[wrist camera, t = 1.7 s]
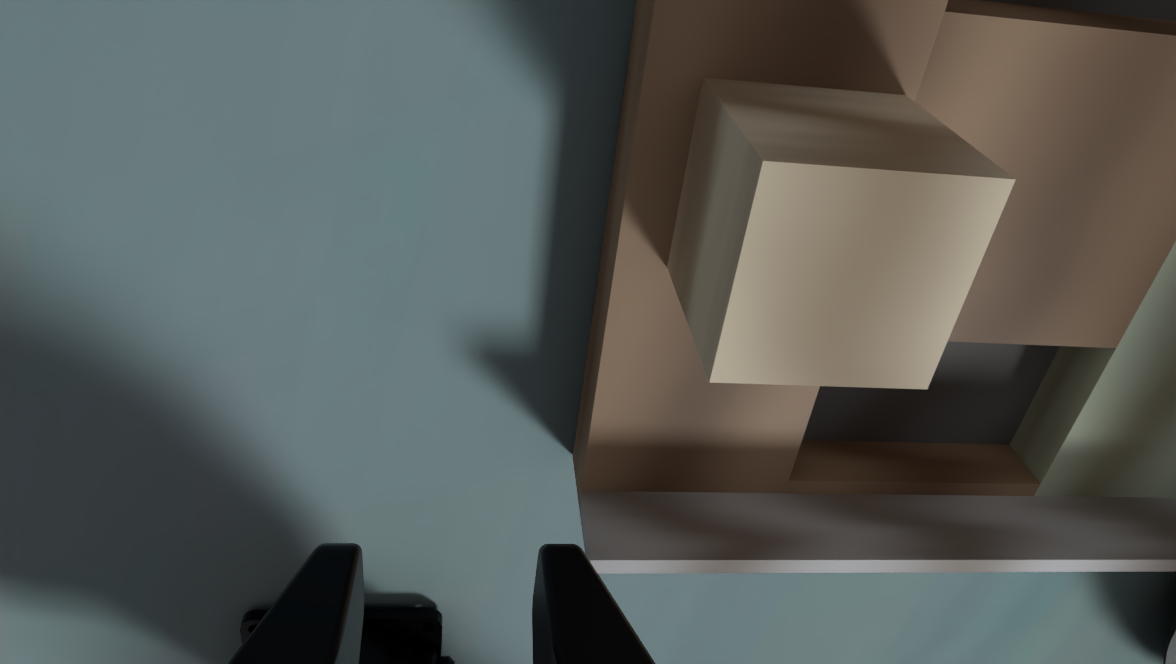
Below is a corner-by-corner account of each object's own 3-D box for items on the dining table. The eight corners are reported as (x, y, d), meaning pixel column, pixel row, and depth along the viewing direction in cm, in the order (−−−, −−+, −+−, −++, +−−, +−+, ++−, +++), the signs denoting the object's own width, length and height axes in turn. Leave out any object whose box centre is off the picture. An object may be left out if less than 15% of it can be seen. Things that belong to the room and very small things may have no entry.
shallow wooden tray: (572, 456, 25) (589, 589, 21) (693, -408, 15) (775, -478, 10) (1156, 466, 28) (1271, 584, 24) (1618, -245, 18) (1968, -250, 13)
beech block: (666, 267, 20) (709, 382, 16) (703, 77, 17) (762, 160, 14) (846, 277, 20) (927, 389, 17) (905, 95, 18) (1015, 179, 14)
